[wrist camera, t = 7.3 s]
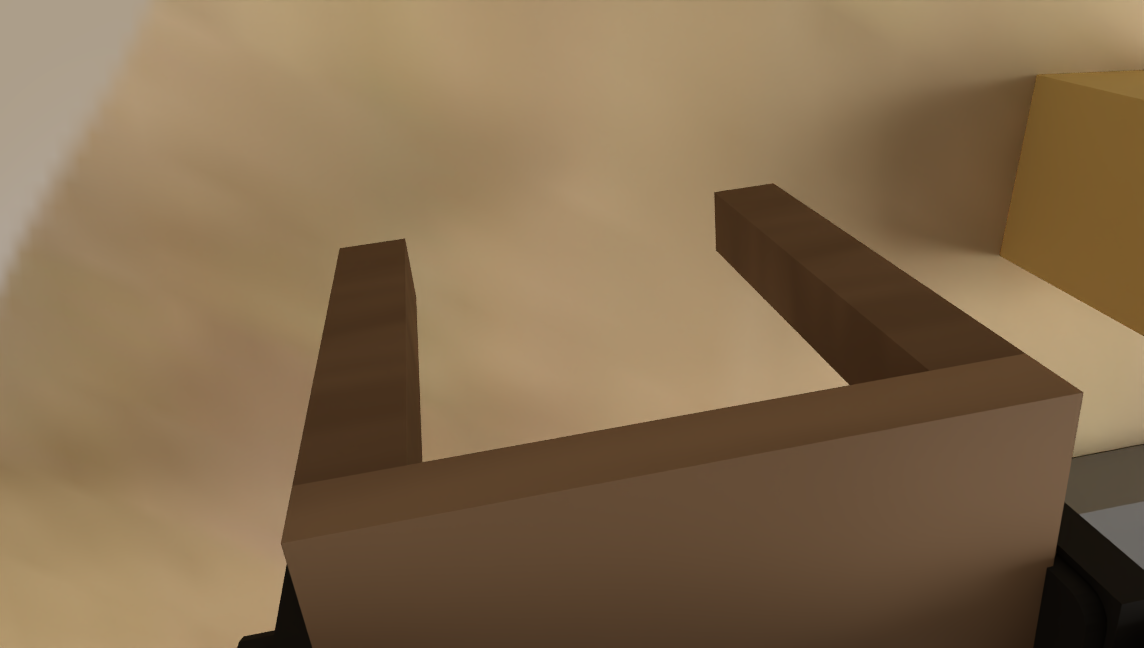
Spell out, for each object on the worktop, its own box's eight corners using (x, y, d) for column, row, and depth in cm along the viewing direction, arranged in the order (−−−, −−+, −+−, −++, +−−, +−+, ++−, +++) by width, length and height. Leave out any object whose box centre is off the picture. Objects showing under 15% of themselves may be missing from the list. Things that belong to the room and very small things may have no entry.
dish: (917, 487, 22) (962, 537, 20) (1234, 427, 23) (1303, 469, 21) (895, 733, 26) (931, 792, 24) (1167, 672, 27) (1220, 725, 25)
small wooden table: (339, 248, 13) (280, 544, 7) (773, 183, 14) (1083, 392, 8) (418, 597, 16) (428, 1033, 10) (773, 527, 17) (996, 885, 11)
